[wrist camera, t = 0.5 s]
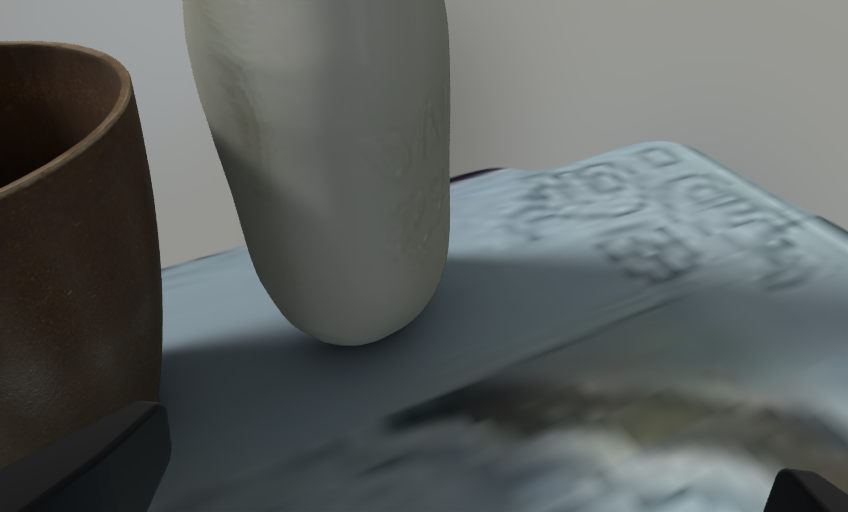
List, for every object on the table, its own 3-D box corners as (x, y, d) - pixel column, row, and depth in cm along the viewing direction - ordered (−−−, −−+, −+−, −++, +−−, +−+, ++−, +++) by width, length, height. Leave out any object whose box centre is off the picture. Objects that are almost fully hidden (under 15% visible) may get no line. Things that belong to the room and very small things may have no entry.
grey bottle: (318, 245, 39) (200, -365, 22) (470, 272, 37) (477, -399, 19) (238, 356, 32) (-37, -420, 15) (420, 400, 30) (355, -488, 12)
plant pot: (250, 299, 36) (166, 24, 26) (220, 549, 24) (47, 232, 14) (-15, 332, 35) (-212, 57, 24) (-178, 613, 23) (-679, 315, 13)
